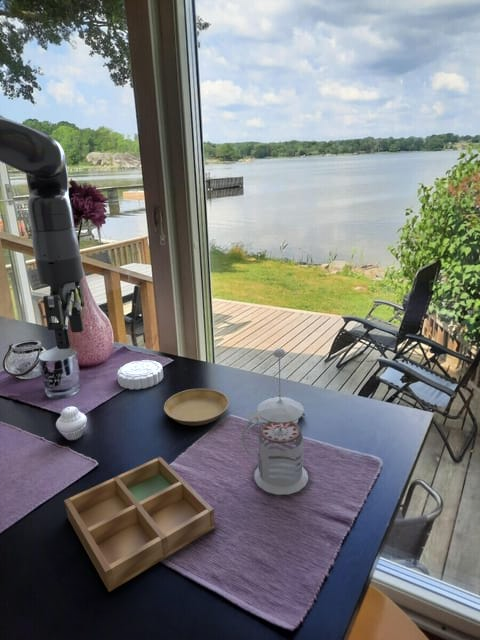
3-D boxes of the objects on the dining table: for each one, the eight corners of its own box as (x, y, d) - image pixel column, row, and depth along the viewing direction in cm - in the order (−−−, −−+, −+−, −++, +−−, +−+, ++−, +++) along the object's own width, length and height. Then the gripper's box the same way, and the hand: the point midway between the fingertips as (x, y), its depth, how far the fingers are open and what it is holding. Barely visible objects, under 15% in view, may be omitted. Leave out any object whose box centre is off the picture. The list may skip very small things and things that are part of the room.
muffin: (91, 426, 98) (86, 398, 96) (86, 442, 92) (81, 413, 90) (62, 430, 97) (56, 402, 95) (55, 446, 91) (49, 416, 89)
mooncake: (165, 368, 125) (164, 357, 124) (160, 388, 114) (159, 376, 112) (123, 371, 125) (121, 359, 123) (113, 391, 113) (112, 378, 112)
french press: (315, 490, 76) (318, 357, 68) (249, 500, 74) (244, 365, 66) (299, 455, 85) (299, 335, 77) (240, 464, 83) (234, 341, 75)
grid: (109, 592, 59) (105, 572, 58) (67, 518, 72) (63, 500, 71) (215, 527, 69) (214, 509, 68) (162, 472, 82) (160, 456, 81)
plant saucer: (187, 393, 111) (186, 383, 110) (240, 404, 104) (239, 394, 104) (151, 423, 98) (150, 412, 97) (209, 437, 92) (208, 427, 91)
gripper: (49, 248, 85) (62, 327, 90) (19, 263, 71) (37, 355, 77) (89, 247, 85) (100, 326, 90) (67, 261, 72) (81, 353, 77)
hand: (71, 339), depth 84 cm, fingers open, 8 cm apart
